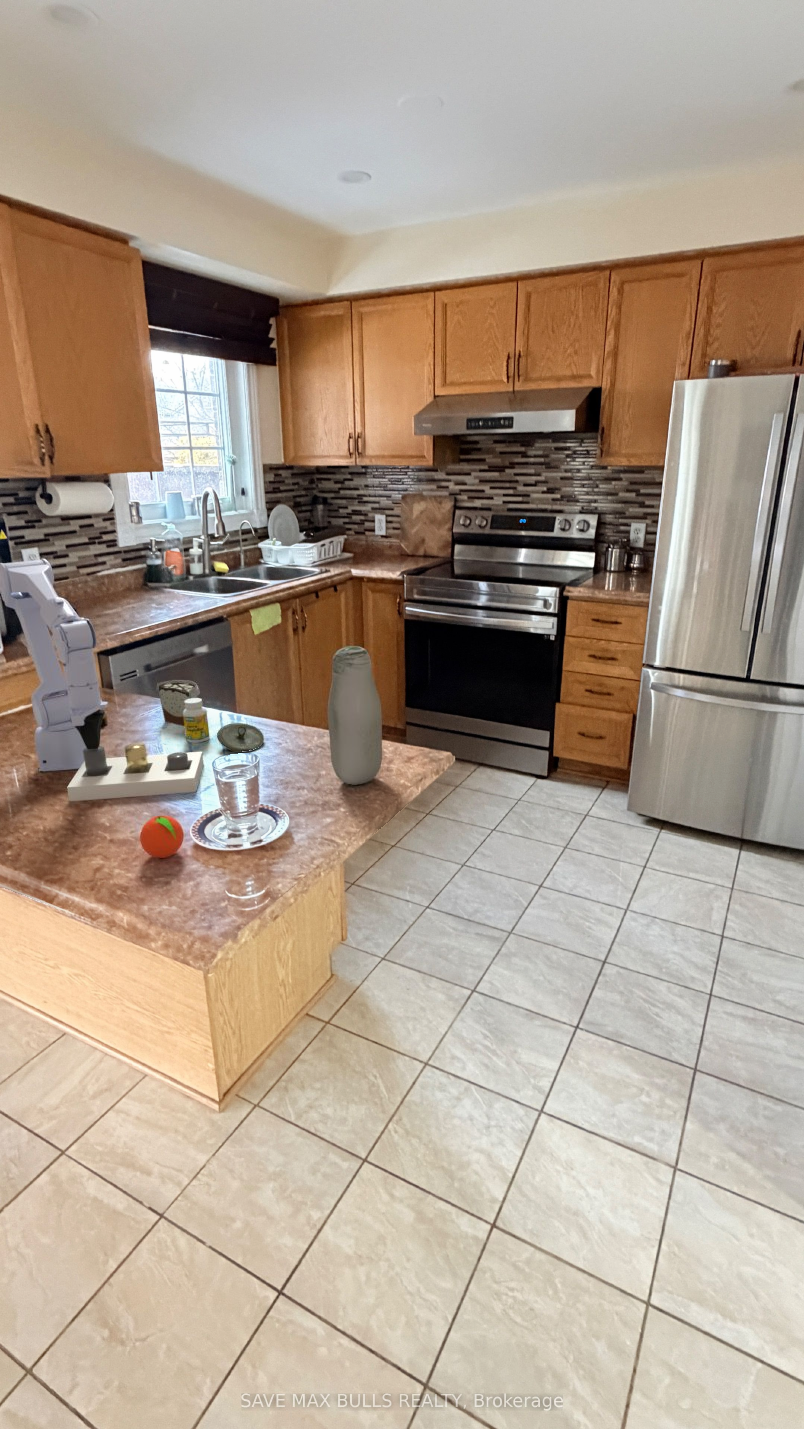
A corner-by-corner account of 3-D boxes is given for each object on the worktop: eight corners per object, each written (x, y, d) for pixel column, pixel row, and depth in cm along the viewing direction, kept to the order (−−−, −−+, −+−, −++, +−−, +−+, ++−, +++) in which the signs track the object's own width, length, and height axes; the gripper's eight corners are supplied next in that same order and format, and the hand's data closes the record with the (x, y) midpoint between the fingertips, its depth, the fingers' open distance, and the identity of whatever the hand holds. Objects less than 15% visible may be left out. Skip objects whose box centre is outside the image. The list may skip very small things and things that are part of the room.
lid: (248, 734, 179) (246, 714, 178) (273, 744, 173) (271, 723, 171) (209, 746, 172) (207, 726, 170) (235, 757, 166) (232, 736, 164)
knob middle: (126, 774, 151) (122, 751, 149) (130, 766, 155) (126, 743, 153) (146, 772, 151) (143, 749, 150) (150, 764, 155) (146, 742, 154)
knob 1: (84, 777, 150) (80, 753, 148) (89, 769, 154) (85, 746, 152) (105, 775, 150) (101, 752, 149) (109, 767, 154) (106, 745, 153)
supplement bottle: (210, 734, 180) (206, 696, 176) (208, 742, 174) (204, 703, 171) (187, 735, 179) (183, 697, 176) (184, 744, 174) (179, 704, 171)
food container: (213, 722, 188) (209, 683, 185) (195, 729, 183) (190, 690, 180) (179, 714, 194) (174, 676, 191) (160, 721, 189) (155, 683, 186)
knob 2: (168, 783, 153) (165, 760, 151) (171, 775, 157) (168, 753, 155) (188, 781, 153) (186, 759, 152) (191, 773, 157) (188, 751, 155)
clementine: (197, 855, 125) (193, 817, 123) (160, 872, 120) (155, 833, 118) (171, 840, 130) (166, 803, 128) (134, 856, 125) (128, 818, 123)
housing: (69, 801, 146) (67, 787, 145) (87, 772, 159) (85, 759, 158) (196, 791, 149) (194, 777, 148) (203, 764, 162) (202, 751, 161)
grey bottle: (350, 768, 159) (344, 638, 149) (391, 777, 154) (388, 644, 144) (322, 785, 151) (314, 649, 141) (365, 796, 146) (359, 656, 136)
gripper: (94, 692, 140) (105, 760, 144) (112, 671, 153) (121, 733, 158) (54, 694, 139) (67, 762, 143) (75, 673, 152) (86, 736, 157)
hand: (93, 747), depth 150 cm, fingers closed
